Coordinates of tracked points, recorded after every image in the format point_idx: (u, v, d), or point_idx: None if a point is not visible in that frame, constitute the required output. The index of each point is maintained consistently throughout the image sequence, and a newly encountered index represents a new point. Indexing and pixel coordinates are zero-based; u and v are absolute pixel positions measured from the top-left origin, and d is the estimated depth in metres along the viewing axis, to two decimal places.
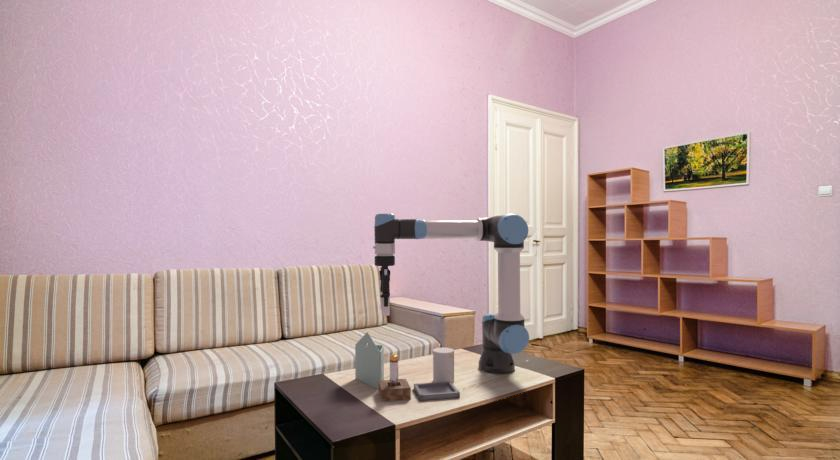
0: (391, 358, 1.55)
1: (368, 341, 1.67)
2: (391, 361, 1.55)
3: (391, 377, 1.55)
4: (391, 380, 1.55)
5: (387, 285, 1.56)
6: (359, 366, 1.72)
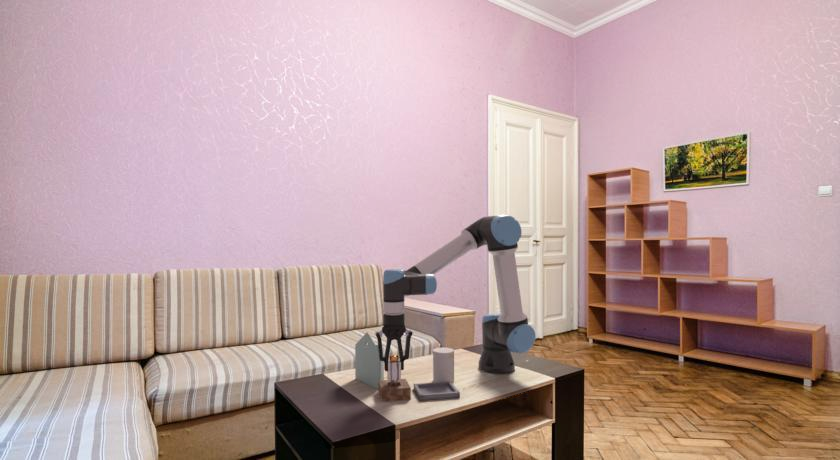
0: (391, 358, 1.55)
1: (368, 341, 1.67)
2: (391, 361, 1.55)
3: (391, 377, 1.55)
4: (391, 380, 1.55)
5: (378, 350, 1.55)
6: (359, 366, 1.72)
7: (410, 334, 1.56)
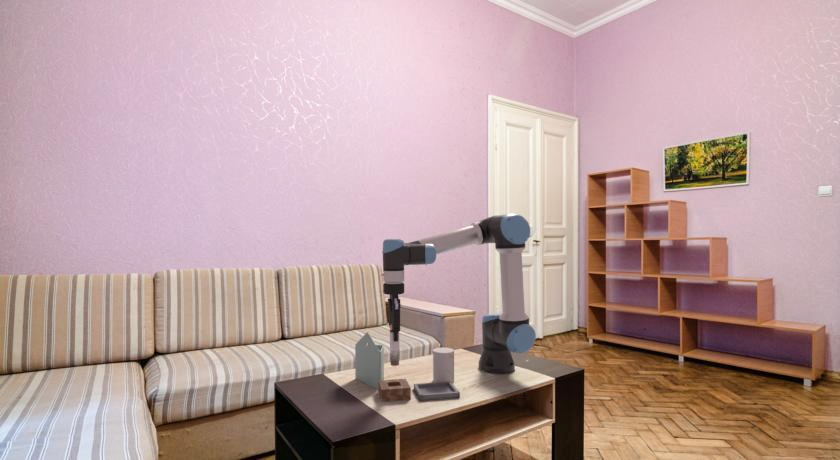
0: None
1: (368, 341, 1.67)
2: None
3: None
4: None
5: (398, 320, 1.51)
6: (359, 366, 1.72)
7: None
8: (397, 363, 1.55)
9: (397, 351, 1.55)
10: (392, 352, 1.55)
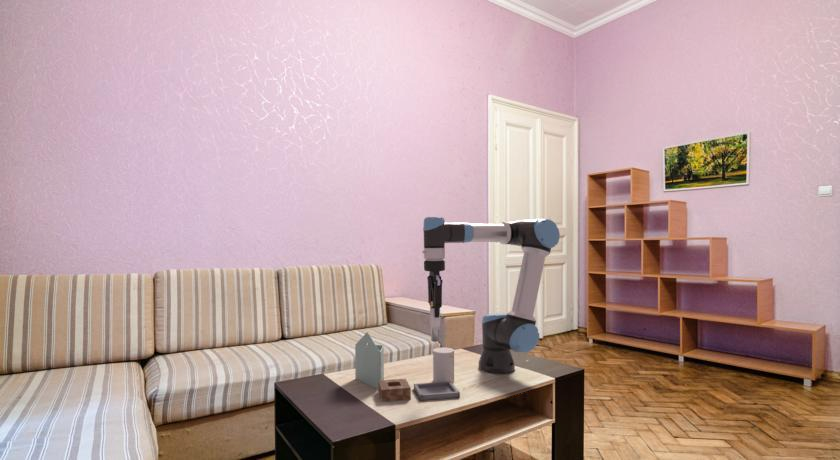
0: None
1: (368, 341, 1.67)
2: None
3: None
4: None
5: (439, 296, 1.53)
6: (359, 366, 1.72)
7: None
8: (438, 339, 1.57)
9: (438, 327, 1.57)
10: (433, 328, 1.57)
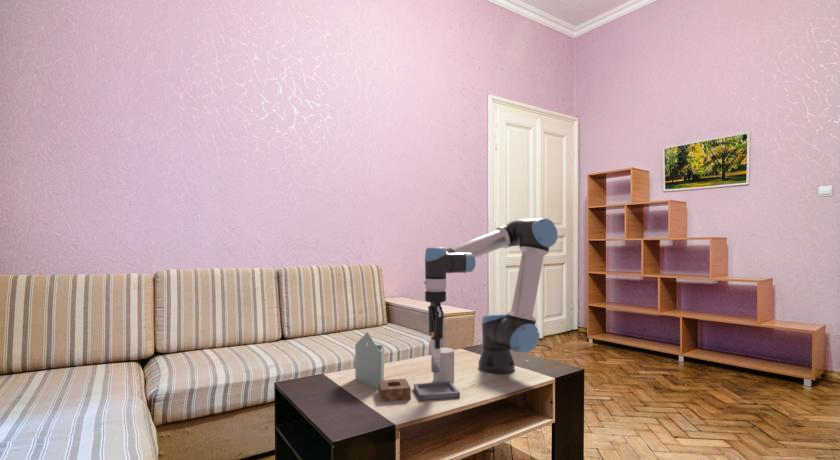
0: None
1: (368, 341, 1.67)
2: None
3: None
4: None
5: (440, 328, 1.53)
6: (359, 366, 1.72)
7: None
8: (438, 370, 1.57)
9: (438, 358, 1.57)
10: (433, 359, 1.57)
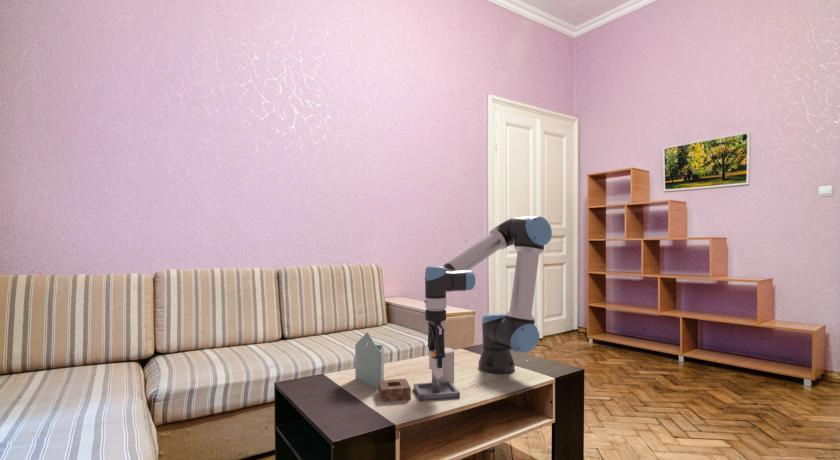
0: None
1: (368, 341, 1.67)
2: None
3: None
4: None
5: (442, 346, 1.51)
6: (359, 366, 1.72)
7: None
8: (438, 390, 1.57)
9: (439, 378, 1.57)
10: (434, 379, 1.57)
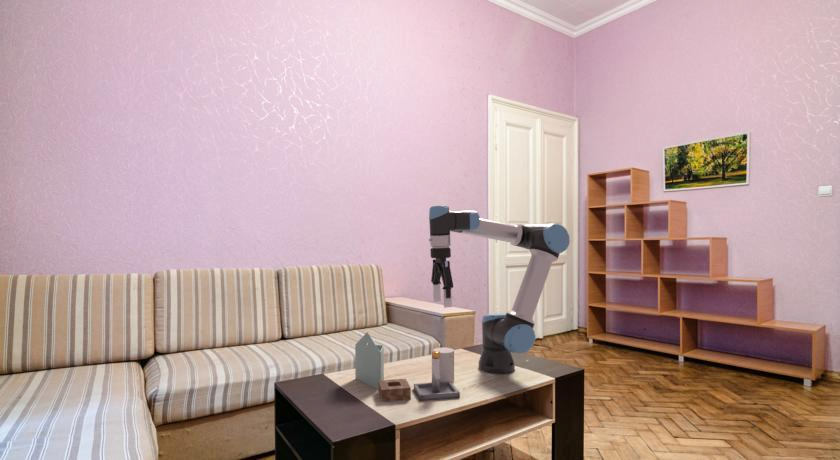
0: (439, 354, 1.57)
1: (368, 341, 1.67)
2: (439, 357, 1.57)
3: (439, 373, 1.57)
4: (439, 376, 1.57)
5: (449, 277, 1.56)
6: (359, 366, 1.72)
7: None
8: (438, 390, 1.57)
9: (439, 378, 1.57)
10: (434, 379, 1.57)
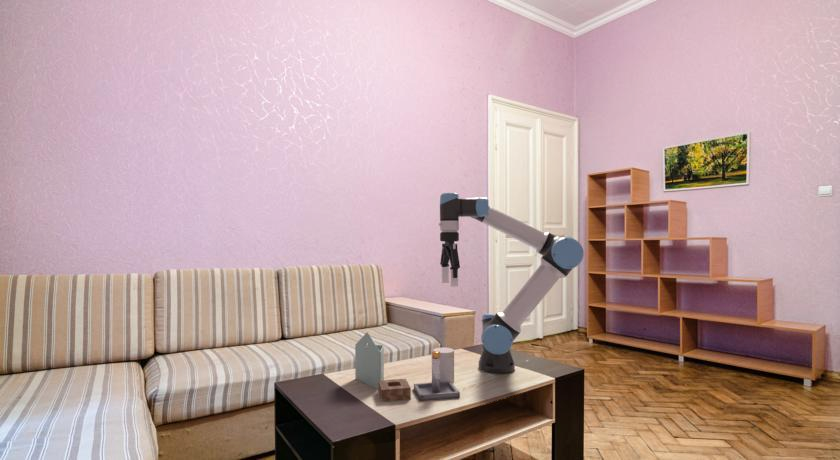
0: (439, 354, 1.57)
1: (368, 341, 1.67)
2: (439, 357, 1.57)
3: (439, 373, 1.57)
4: (439, 376, 1.57)
5: (456, 258, 1.69)
6: (359, 366, 1.72)
7: None
8: (438, 390, 1.57)
9: (439, 378, 1.57)
10: (434, 379, 1.57)
